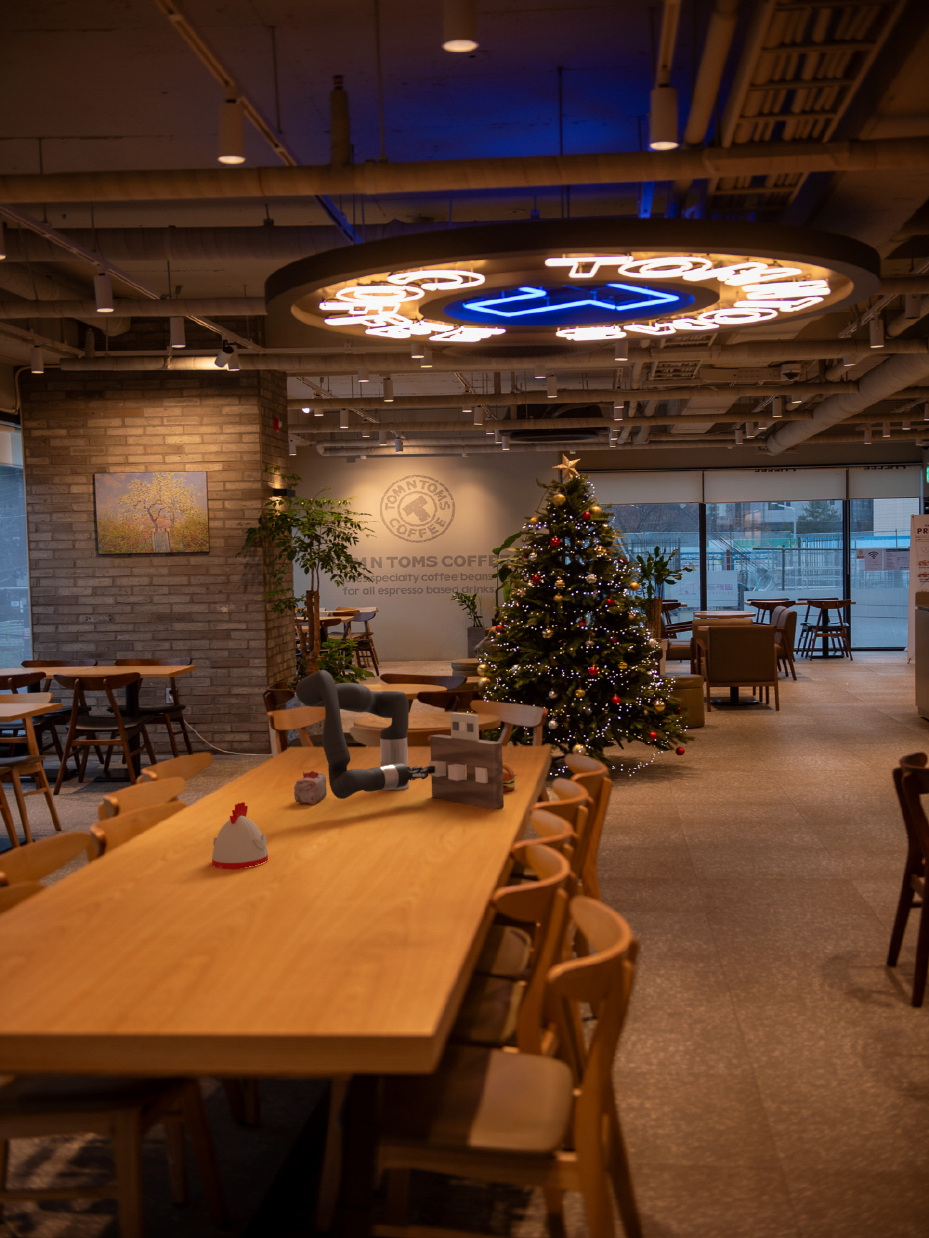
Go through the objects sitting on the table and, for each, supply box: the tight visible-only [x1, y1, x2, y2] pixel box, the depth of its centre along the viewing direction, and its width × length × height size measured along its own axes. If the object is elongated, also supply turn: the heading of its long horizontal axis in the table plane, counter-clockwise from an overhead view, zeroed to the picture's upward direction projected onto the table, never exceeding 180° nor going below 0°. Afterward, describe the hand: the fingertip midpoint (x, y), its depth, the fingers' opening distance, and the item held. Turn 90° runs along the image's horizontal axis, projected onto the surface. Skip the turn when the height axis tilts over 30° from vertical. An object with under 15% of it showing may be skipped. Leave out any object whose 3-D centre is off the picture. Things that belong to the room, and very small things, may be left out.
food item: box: [293, 770, 327, 806], centre depth 348 cm, size 14×8×10 cm, turn 171°
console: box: [429, 734, 505, 810], centre depth 340 cm, size 4×30×20 cm, turn 41°
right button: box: [475, 767, 488, 783], centre depth 332 cm, size 4×4×4 cm
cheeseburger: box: [503, 762, 517, 792], centre depth 359 cm, size 10×11×10 cm
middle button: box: [448, 764, 467, 781], centre depth 337 cm, size 4×4×4 cm
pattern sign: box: [450, 712, 480, 741], centre depth 339 cm, size 2×12×8 cm, turn 41°
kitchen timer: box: [211, 802, 269, 870], centre depth 272 cm, size 14×14×15 cm
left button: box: [428, 760, 446, 777], centre depth 345 cm, size 4×4×4 cm
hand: (433, 769), depth 344 cm, fingers closed
